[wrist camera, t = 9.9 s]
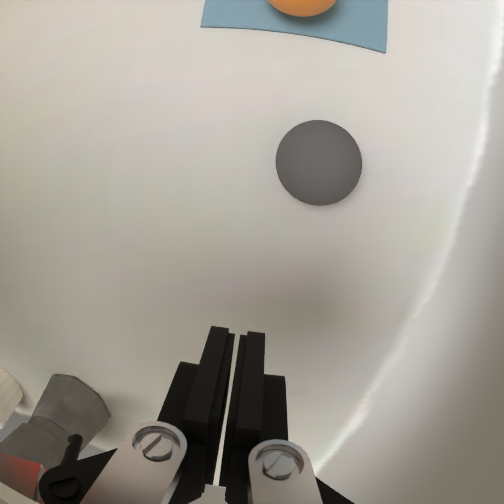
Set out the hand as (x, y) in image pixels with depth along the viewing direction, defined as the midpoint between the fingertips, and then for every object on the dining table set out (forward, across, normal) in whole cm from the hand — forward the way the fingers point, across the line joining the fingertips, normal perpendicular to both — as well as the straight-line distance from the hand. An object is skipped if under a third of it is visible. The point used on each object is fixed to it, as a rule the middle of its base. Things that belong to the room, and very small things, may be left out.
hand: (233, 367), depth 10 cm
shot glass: (+16, +33, +27) cm, 46 cm away
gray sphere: (+12, -3, -6) cm, 14 cm away
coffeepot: (+16, +18, +23) cm, 33 cm away
